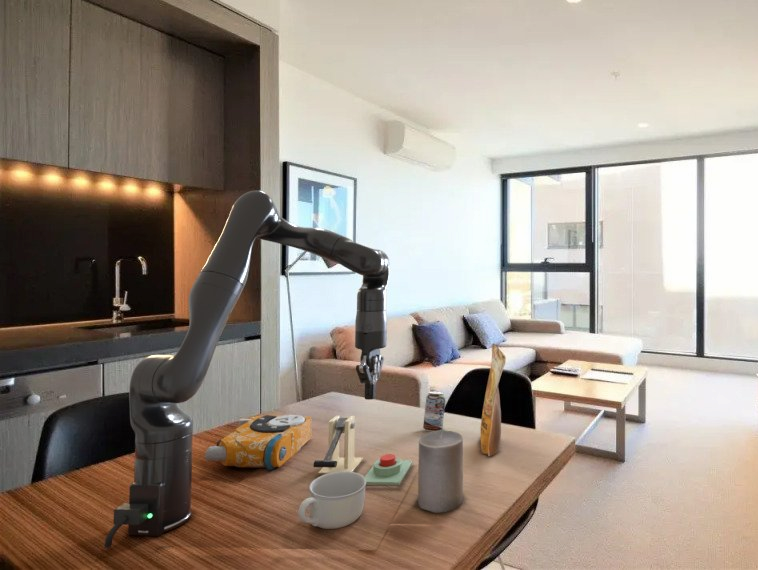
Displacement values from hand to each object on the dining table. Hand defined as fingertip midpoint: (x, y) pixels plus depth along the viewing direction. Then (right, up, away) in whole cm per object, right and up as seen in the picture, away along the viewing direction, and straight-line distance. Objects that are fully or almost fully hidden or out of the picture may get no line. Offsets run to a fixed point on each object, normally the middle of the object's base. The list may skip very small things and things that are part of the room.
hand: (369, 398), depth 113 cm
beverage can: (+11, -20, +30) cm, 37 cm away
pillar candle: (+20, -18, -13) cm, 30 cm away
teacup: (-1, -18, -23) cm, 29 cm away
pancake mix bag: (+30, -20, +18) cm, 40 cm away
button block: (+5, -19, -2) cm, 19 cm away
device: (-34, -19, +13) cm, 41 cm away
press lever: (-8, -11, -1) cm, 14 cm away
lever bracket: (-8, -19, +2) cm, 20 cm away
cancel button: (+5, -15, -2) cm, 16 cm away
